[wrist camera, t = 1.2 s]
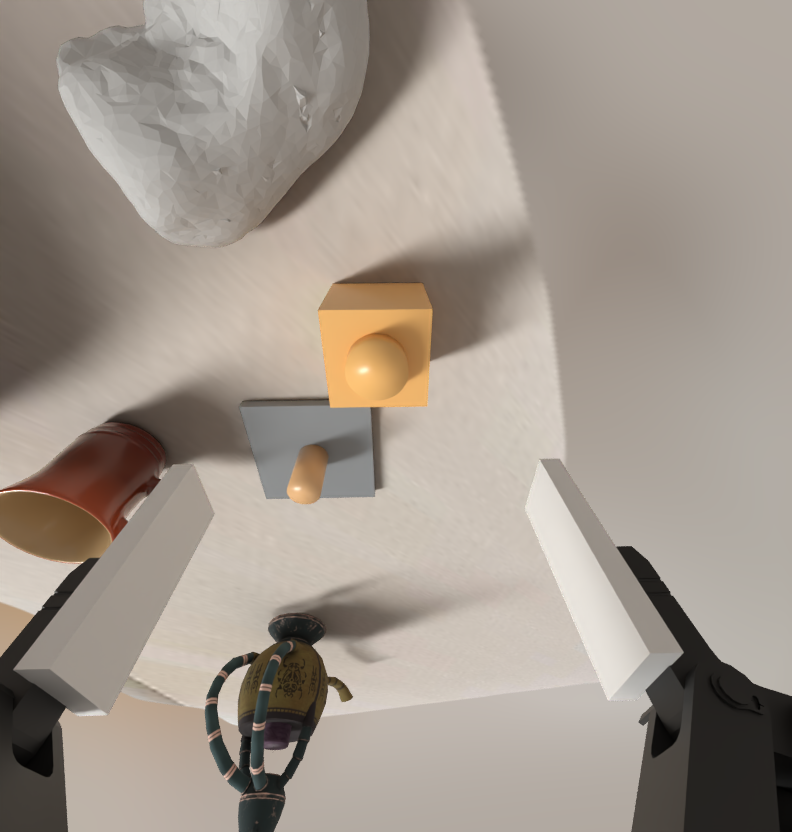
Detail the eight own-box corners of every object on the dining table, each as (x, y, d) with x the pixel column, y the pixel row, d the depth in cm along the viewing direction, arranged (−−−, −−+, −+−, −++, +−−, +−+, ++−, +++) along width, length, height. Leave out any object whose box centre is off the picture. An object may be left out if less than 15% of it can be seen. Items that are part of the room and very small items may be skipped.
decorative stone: (214, 293, 25) (40, 220, 15) (153, 181, 25) (-47, 44, 16) (421, 124, 21) (370, -124, 11) (341, 0, 22) (228, -328, 12)
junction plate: (242, 401, 32) (216, 440, 27) (370, 399, 33) (367, 437, 28) (268, 492, 39) (251, 537, 34) (375, 490, 39) (373, 534, 34)
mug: (81, 460, 36) (-14, 545, 27) (86, 396, 32) (-25, 473, 23) (200, 497, 39) (149, 584, 31) (219, 444, 35) (165, 526, 27)
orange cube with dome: (332, 283, 27) (313, 318, 20) (422, 282, 27) (435, 317, 20) (340, 365, 31) (327, 420, 24) (419, 365, 31) (429, 418, 24)
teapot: (293, 591, 50) (235, 844, 31) (378, 657, 63) (375, 867, 43) (230, 613, 53) (140, 857, 34) (323, 672, 65) (297, 875, 46)
